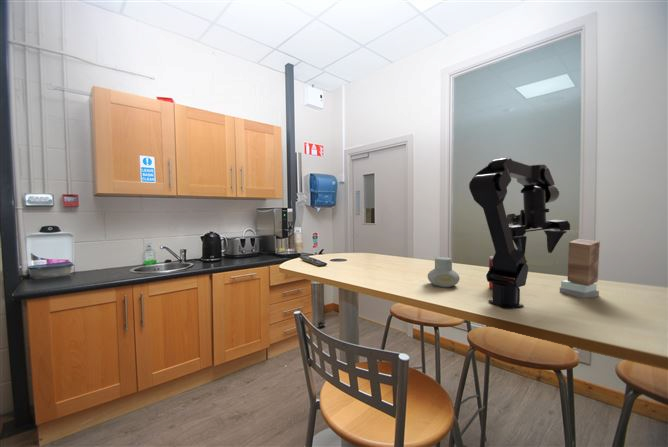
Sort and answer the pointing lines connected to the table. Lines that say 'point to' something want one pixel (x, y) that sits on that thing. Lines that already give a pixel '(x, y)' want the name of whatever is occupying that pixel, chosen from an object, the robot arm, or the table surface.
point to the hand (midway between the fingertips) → (536, 254)
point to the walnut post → (583, 261)
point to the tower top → (578, 286)
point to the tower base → (579, 293)
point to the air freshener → (443, 273)
